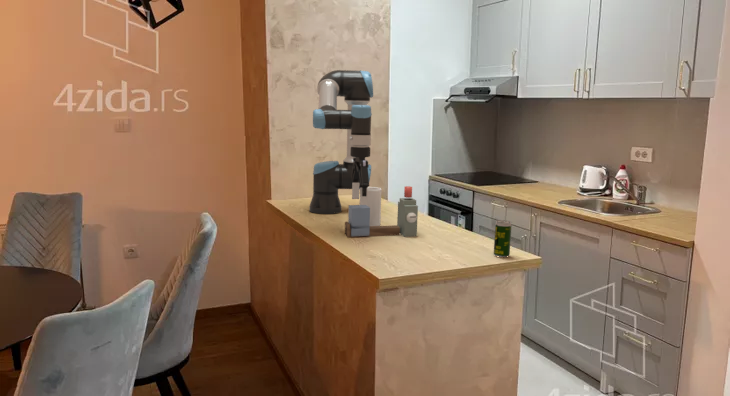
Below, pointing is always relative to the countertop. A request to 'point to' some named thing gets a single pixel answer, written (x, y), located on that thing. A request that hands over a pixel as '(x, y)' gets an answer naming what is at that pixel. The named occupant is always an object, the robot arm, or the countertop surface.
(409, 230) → the grey upright block
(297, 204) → the countertop surface
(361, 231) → the block
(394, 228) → the rail
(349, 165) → the robot arm
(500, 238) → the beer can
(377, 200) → the cup
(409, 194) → the plunger
